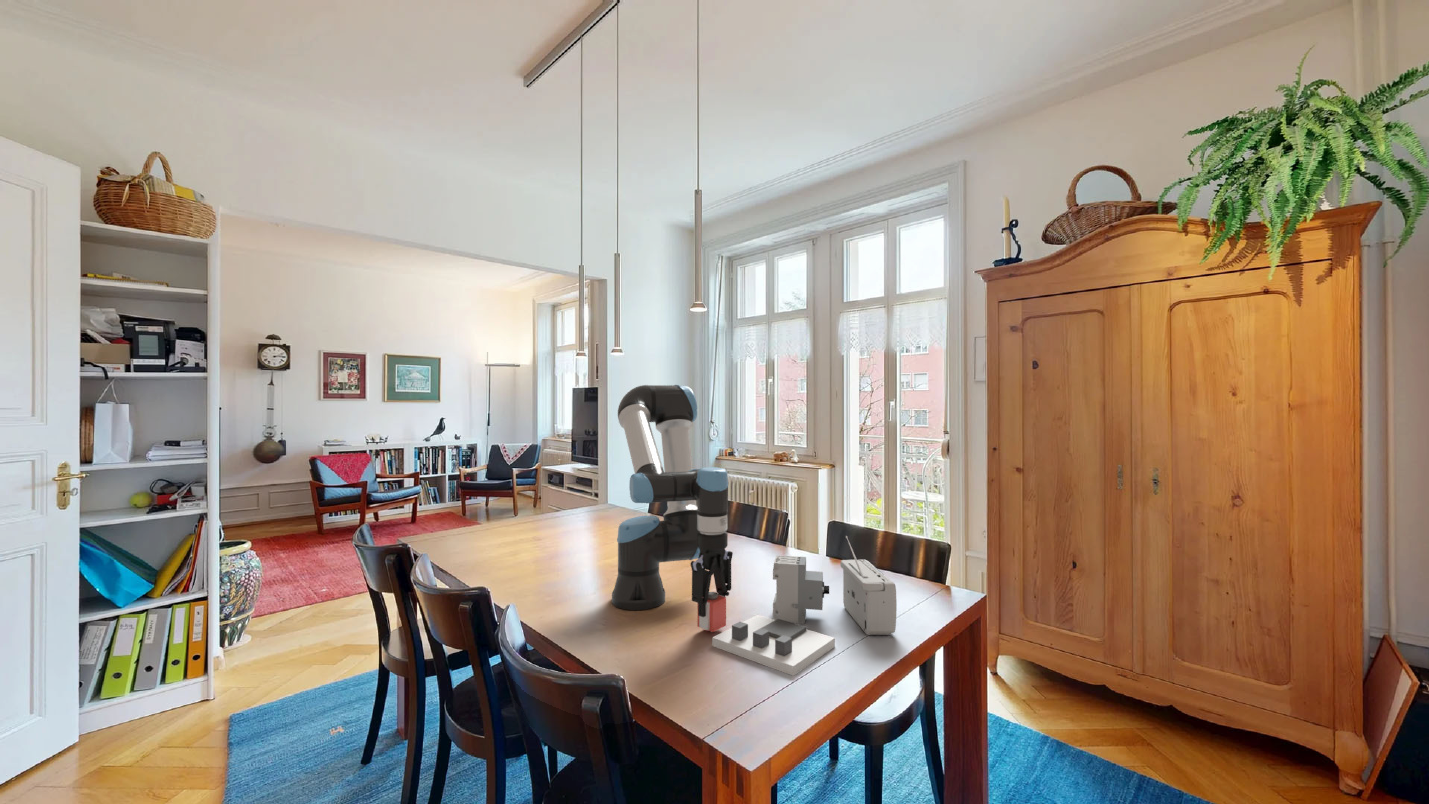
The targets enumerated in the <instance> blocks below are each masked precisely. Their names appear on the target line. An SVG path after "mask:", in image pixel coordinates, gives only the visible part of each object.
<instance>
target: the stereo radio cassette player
mask: <svg viewBox="0 0 1429 804" xmlns="http://www.w3.org/2000/svg"><path fill="white" fill-rule="evenodd" d="M845 539H847V543H848V546H849V548H850V551H851V554H852V557H853V558H854V559H842V560H840V568H841V569H842V571H843V573H842V574H843V575H842V576H843V579H842V580H843V581H842V582H843V587H842V588H843V589H842V591H843V592H842V595H843V597H842V598H843V599H842V600H843V607H844V608H845V610H846V611H847V612H848V613H849V615H850V616H851V617H852V618H853V620H854V621H855V622H856V624H858V626H859V627H860V628H861V630H862V631H863V632H864V633H865V634H866V635H867V636H871V635H874V636H880V635H881V636H882V635H887V636H889V635H890V636H891V635H892V634H893V633H894V634H895V633H896V626H897V611H898V610H897V587H896V584H895V582H894V581H893V580H891V579H890V578H889V577H887V575H885V574H884V573H883V572H881V571H880V569H878V568H877V567H876V566H875V565H874V564H872V563H871V562H870V561H869V560H866V559H857V557H856V555H855V552H854V549H853V548H852V546H851V543H850V541H849V539H848V536H847V535H845Z"/></svg>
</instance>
